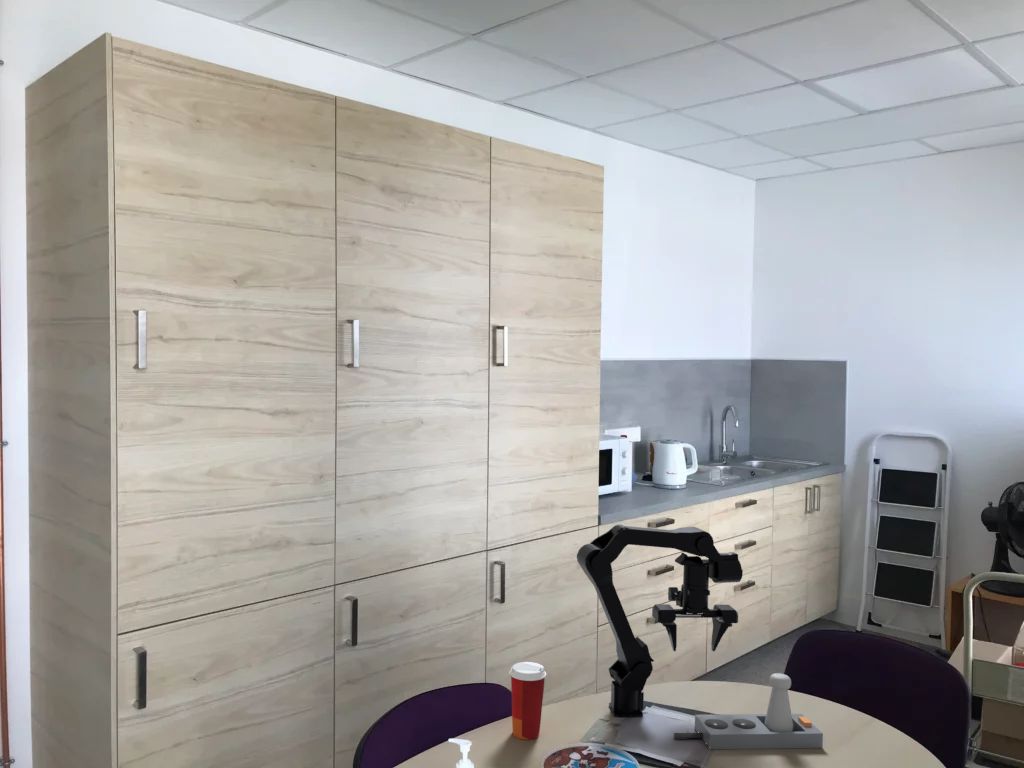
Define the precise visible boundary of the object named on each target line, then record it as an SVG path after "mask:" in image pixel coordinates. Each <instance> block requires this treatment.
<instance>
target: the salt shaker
mask: <svg viewBox="0 0 1024 768" xmlns="http://www.w3.org/2000/svg"><path fill="white" fill-rule="evenodd" d="M769 685H770V686H771V690H770V691H771V693H770V696H769V699H768V700H769V701H768V704H767V709H766V710H767V711H766V713H765V714H766V718H765V723H764V724H765V726H766V727H767V729H768V730H769V731H770V732H792V731H793V721H792V715H791V714H792V710H791V703H790V696H789V692H788V690H789V689H790V688H791V686H792V679H791V678H790V676H788V675H787V674H784V673H779V672H777V673H776V672H775V673H772V674H771V675H770V678H769Z"/></svg>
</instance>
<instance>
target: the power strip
mask: <svg viewBox="0 0 1024 768" xmlns="http://www.w3.org/2000/svg"><path fill="white" fill-rule="evenodd" d="M766 714H767V713H756V714H755V713H747V714H744V713H743V714H742V713H740V714H737V713H735V714H734V713H733V714H731V713H730V714H725V713H724V714H694V729H696V730H697V731H698V732H699V733H698V732H697V731H696V730H695V731H696V732H673V733H672V735H673V736H672V737H673V739H674V738H675V739H674V740H686V739H685V738H703V739H704V741H705V742H706V743H707V745H708V746H709V747H710V748H711V749H710V750H749V749H750V750H752V749H753V750H755V749H760V750H761V749H763V750H764V749H765V750H766V749H822V748H823V741H824V740H823V739H824V738H823V736H824V733H823V732H822V731H821V730H820V729H819V728H817V727H816V726H815V725H814V723H813V722H812V721H811V720H809V719H808V718H807V717H806V716H805V715H804V714H802V713H791V715H792V721H793V731H792V732H770V731H769V730H768V729H767V727H766V726H765V724H764V723H765V718H766ZM683 738H684V739H683ZM703 739H702V740H703ZM704 741H703V742H704ZM705 742H704V743H705ZM706 743H705V744H706ZM707 745H706V746H707ZM708 746H707V747H708ZM709 747H708V748H709Z"/></svg>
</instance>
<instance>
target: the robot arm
mask: <svg viewBox="0 0 1024 768" xmlns="http://www.w3.org/2000/svg"><path fill="white" fill-rule="evenodd" d="M714 541H715V540H714V538H713V536H712V535H711V533H709V532H707V531H705V530H703V529H700V528H698V527H695V526H685V527H683V526H682V527H678V528H674V529H664V528H653V527H640V526H639V527H638V526H629V525H628V526H627V525H623V524H616V525H614V526H613V527H611V528H610V529H609V530H608V531H606V532H605V533H603V534H601V535H599V536H598V537H596V538H594V540H592V541H590V543H587V544H584V545H582V546H581V547H580V548H579V549H578V552H577V554H576V559H577V560H576V561H577V563H578V564H579V566H580V568H581V569H582V571H583V572H584V574H585V575H586V577H587V578H588V580H589V582H590V583H591V584H592V585H593V587H594V589H595V592H596V593H597V597H598V599H599V602H600V604H601V607H602V608H603V612H604V614H605V616H606V620H607V621H608V624H609V626H610V629H611V631H612V634H613V636H614V639H615V641H616V642H615V643H616V644H615V646H616V648H615V649H616V655H617V659H616V660H615V662H614V663H613V664H612V665H611V666H610V667H609V668H608V672H609V676H610V678H611V679H613V680H611V689H610V691H611V692H610V693H611V694H610V702H609V703H608V707H609V709H610V711H611V712H612V714H613V716H614V717H643V716H644V713H643V710H644V701H645V700H644V698H645V694H644V691H643V690H644V688H645V685H646V683H647V680H648V678H649V677H650V676H651V675H652V672H653V670H654V667H653V662H655V660H654V659H653V658H652V656H651V655H650V649H649V647H648V644H646V642H644V641H643V640H642V639H641V638H640V637H639V636H636V637H635V634H634V633H633V629H632V627H631V625H630V622H629V620H628V617H627V615H626V612H625V609H624V608H623V605H622V603H621V599H620V597H619V595H618V593H617V591H616V587H615V585H614V582H613V578H614V577H613V567H612V563H614V562H615V560H617V558H618V557H619V556H620V555H621V553H622V552H623V550H624V549H625V548H626V547H627V546H628V545H631V546H639V547H640V546H643V547H651V548H652V547H654V548H666V549H674V550H678V551H681V554H680V555H679V556H677V557H676V558H675V559H674V562H675V563H676V564H679V565H680V566H683V575H682V576H683V578H682V579H683V580H682V584H681V587H680V588H681V589H680V590H679V587H677V586H669V587H668V591H667V598H668V601H669V602H675V606H676V607H679V608H674V607H672V605H671V604H670V603H669V604H668V603H667V604H663V603H662V604H661V603H658V604H657V603H656V604H654V605H653V606H652V608H651V610H652V613H651V615H652V618H654V619H655V620H656V622H657V623H659V624H661V625H662V626H663V627H665V629H666V630H665V631H667V635H668V638H669V639H668V640H669V642H670V645H671V648H672V651H673V652H676V651H677V646H678V645H677V643H678V642H677V641H678V639H677V637H678V636H677V635H678V634H677V633H678V631H677V629H678V627H677V626H678V625H677V623H676V622H675V621H676V618H677V619H678V618H679V619H680V618H681V619H682V618H687V619H688V618H689V619H690V618H693V619H694V618H695V619H696V618H701V619H702V618H704V619H706V618H707V619H708V618H709V619H710V618H711V621H712V633H711V634H712V635H711V643H710V645H711V646H710V647H711V651H712V652H716V649H717V648H718V645H719V644H720V641H721V640H722V638H723V636H724V634H725V633H726V632H727V630H728V628H731V627H733V624H738V623H739V613H738V611H737V610H736V609H735V608H734V607H733V606H731V605H730V604H714V605H713V608H709V596H710V595H711V591H710V589H709V587H710V586H709V581H710V580H709V579H711V581H712V582H713V583H714V584H722V583H723V584H724V583H730V584H731V583H740V582H741V580H742V579H743V572H744V571H743V569H742V564H741V561H740V559H739V553H736V552H734V551H732V552H731V551H730V552H723V553H722V552H721V553H720V552H719V550H718V549H717V547H716V546H715V545H714V544H715V543H714ZM688 554H690V555H688ZM702 557H705V558H706V559H702Z"/></svg>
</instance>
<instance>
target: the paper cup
mask: <svg viewBox="0 0 1024 768" xmlns="http://www.w3.org/2000/svg"><path fill="white" fill-rule="evenodd" d="M508 674H509V676H510V680H511V681H510V683H511V684H510V685H511V688H510V690H511V720H512V721H511V724H512V726H511V727H512V734H513V736H514V738H516V739H519V740H523V741H531V740H532V741H533V740H535V739H537V738H539V736H540V731H541V724H542V723H541V720H542V711H543V700H544V692H545V680H546V679H545V678H546V677H547V672H546V670H545V667H544V666H543V665H542V664H540V663H537V662H532V661H523V662H521V661H520V662H517V663H516V662H515V663H514V664H513V665H512V666H511V668H510V670H509V672H508Z"/></svg>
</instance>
